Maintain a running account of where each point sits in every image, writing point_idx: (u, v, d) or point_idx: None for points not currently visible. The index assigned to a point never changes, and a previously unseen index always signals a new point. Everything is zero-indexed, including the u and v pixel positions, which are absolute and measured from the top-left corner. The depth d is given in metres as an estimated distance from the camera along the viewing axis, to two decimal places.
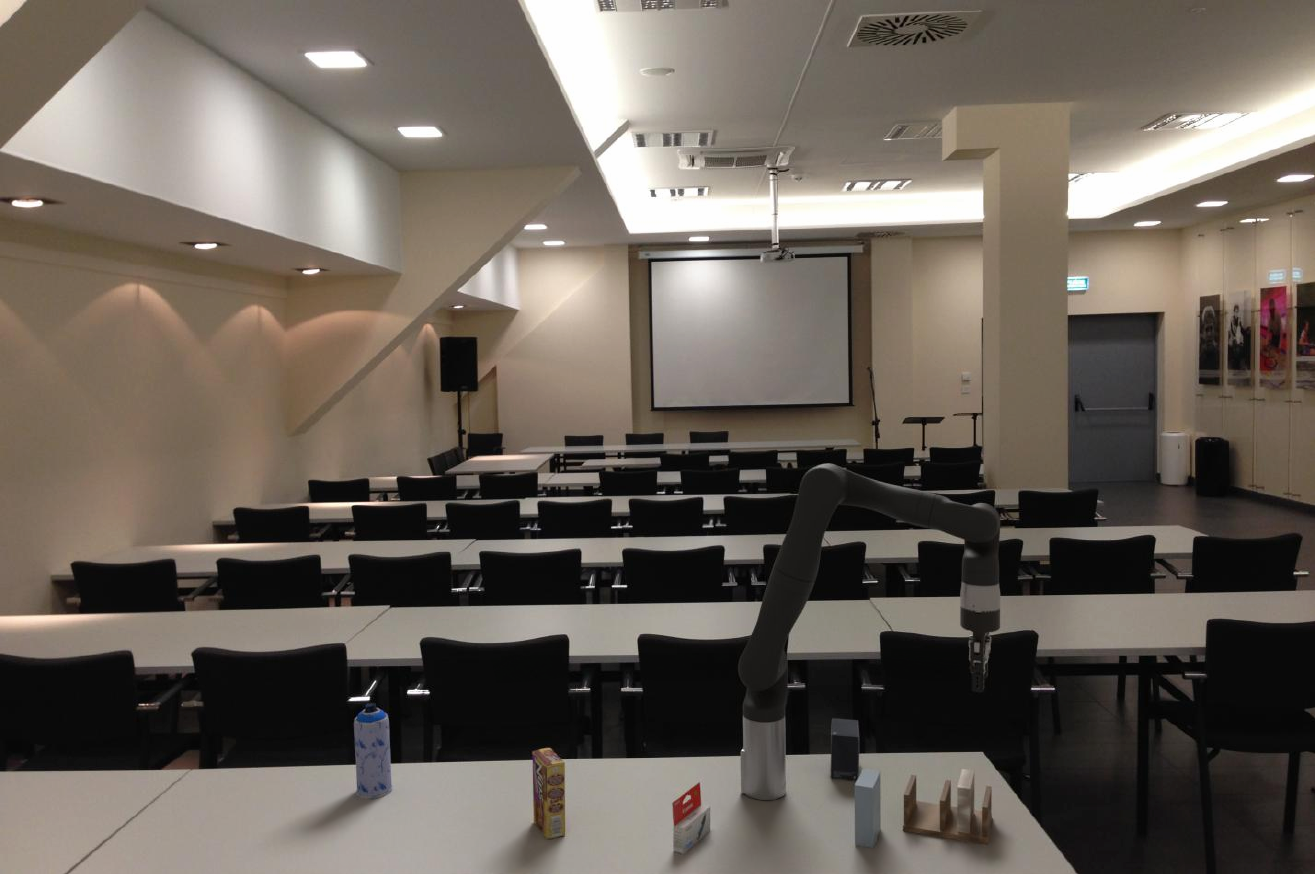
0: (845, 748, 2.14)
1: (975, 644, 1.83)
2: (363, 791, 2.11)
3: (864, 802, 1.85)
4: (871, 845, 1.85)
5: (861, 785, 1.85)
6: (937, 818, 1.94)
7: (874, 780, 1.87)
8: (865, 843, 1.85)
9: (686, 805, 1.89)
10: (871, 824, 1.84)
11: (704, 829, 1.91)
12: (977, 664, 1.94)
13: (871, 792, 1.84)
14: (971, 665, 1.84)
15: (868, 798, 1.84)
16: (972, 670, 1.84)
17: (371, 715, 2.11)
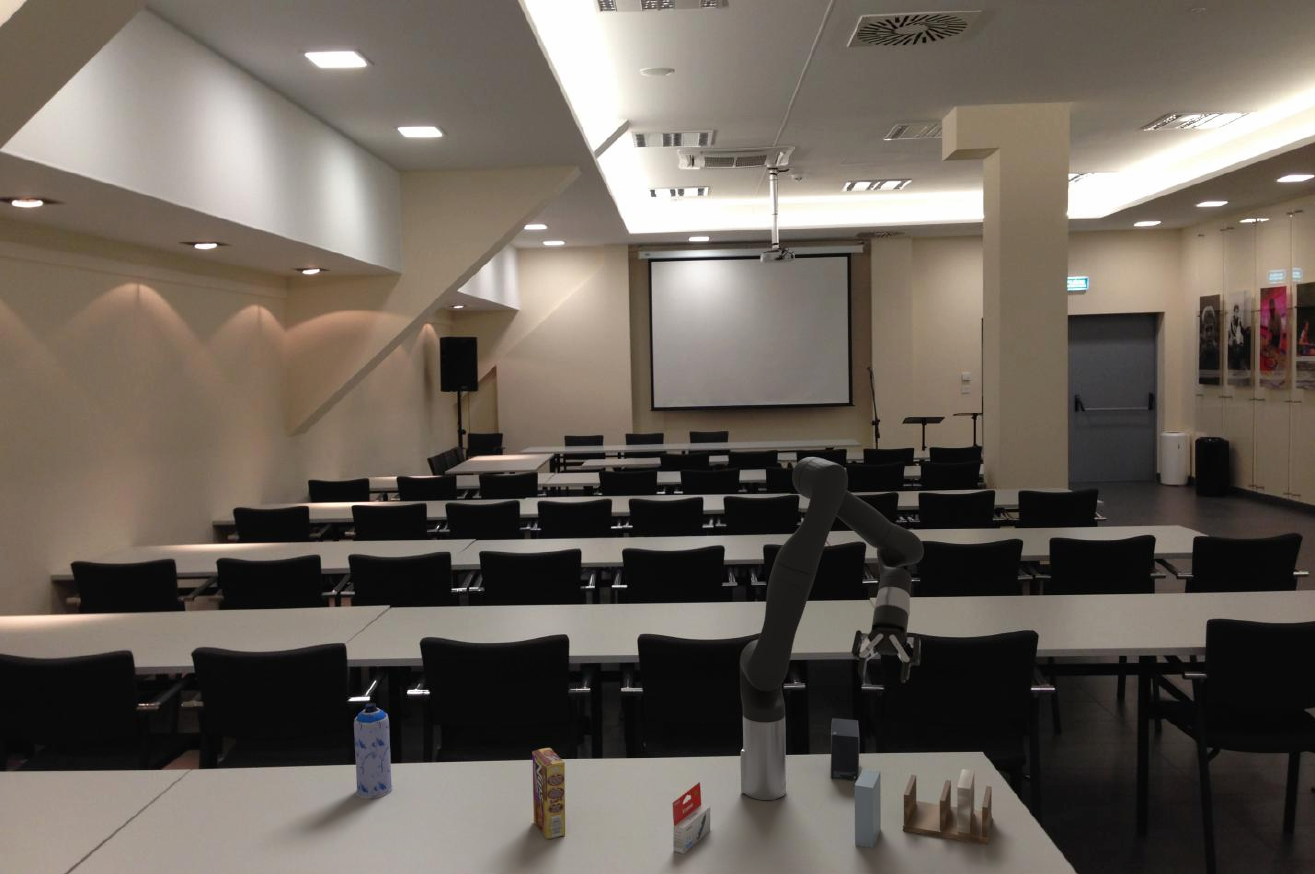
0: (845, 748, 2.14)
1: (919, 639, 2.05)
2: (363, 791, 2.11)
3: (864, 802, 1.85)
4: (871, 845, 1.85)
5: (861, 785, 1.85)
6: (937, 818, 1.94)
7: (874, 780, 1.87)
8: (865, 843, 1.85)
9: (686, 805, 1.89)
10: (871, 824, 1.84)
11: (704, 829, 1.91)
12: (864, 663, 2.05)
13: (871, 792, 1.84)
14: (918, 654, 2.02)
15: (868, 798, 1.84)
16: (918, 659, 2.02)
17: (371, 715, 2.11)
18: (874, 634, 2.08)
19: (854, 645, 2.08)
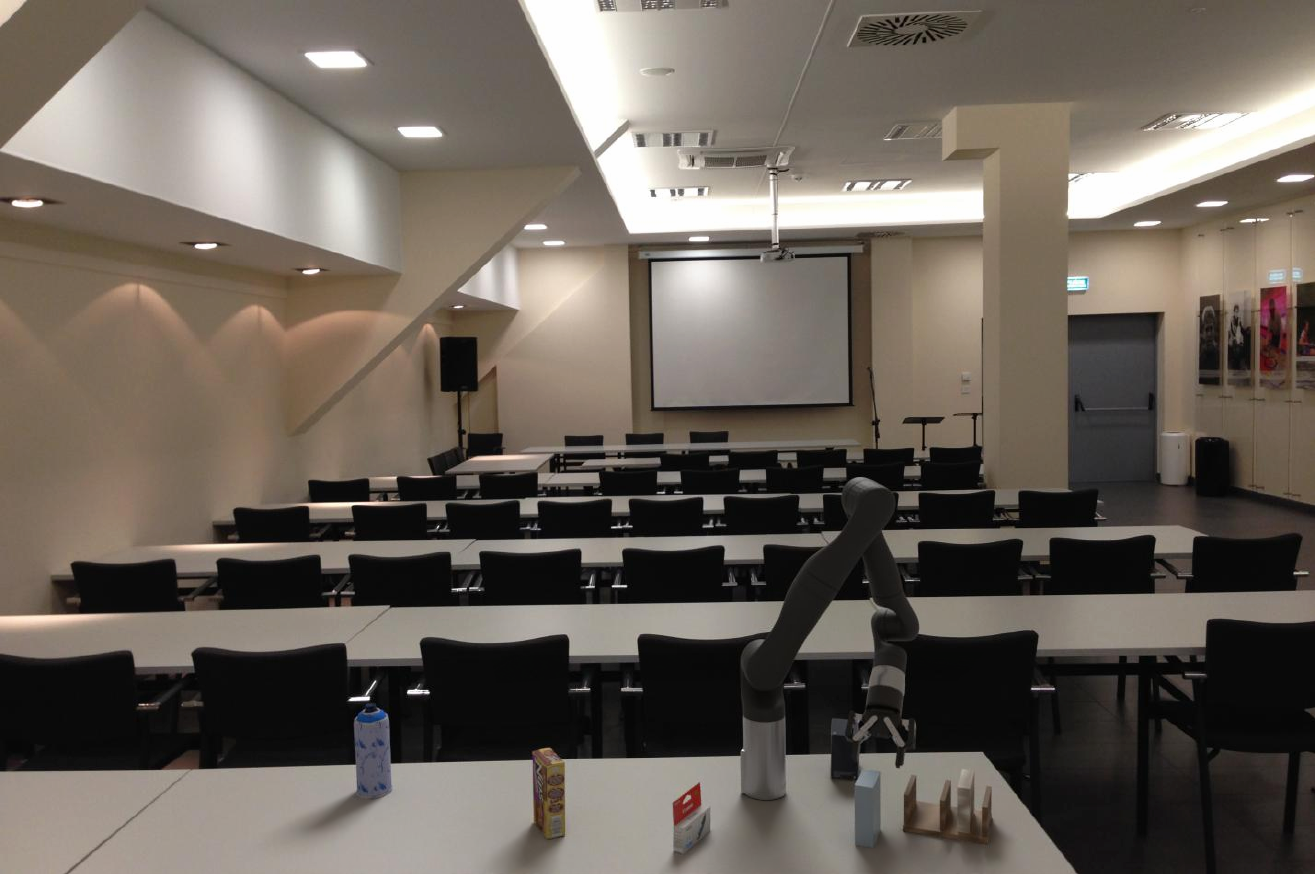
0: (845, 748, 2.14)
1: (914, 721, 2.00)
2: (363, 791, 2.11)
3: (864, 802, 1.85)
4: (871, 845, 1.85)
5: (861, 785, 1.85)
6: (937, 818, 1.94)
7: (874, 780, 1.87)
8: (865, 843, 1.85)
9: (686, 805, 1.89)
10: (871, 824, 1.84)
11: (704, 829, 1.91)
12: (858, 746, 1.99)
13: (871, 792, 1.84)
14: (914, 739, 1.96)
15: (868, 798, 1.84)
16: (913, 744, 1.96)
17: (371, 715, 2.11)
18: (868, 715, 2.03)
19: (847, 727, 2.02)
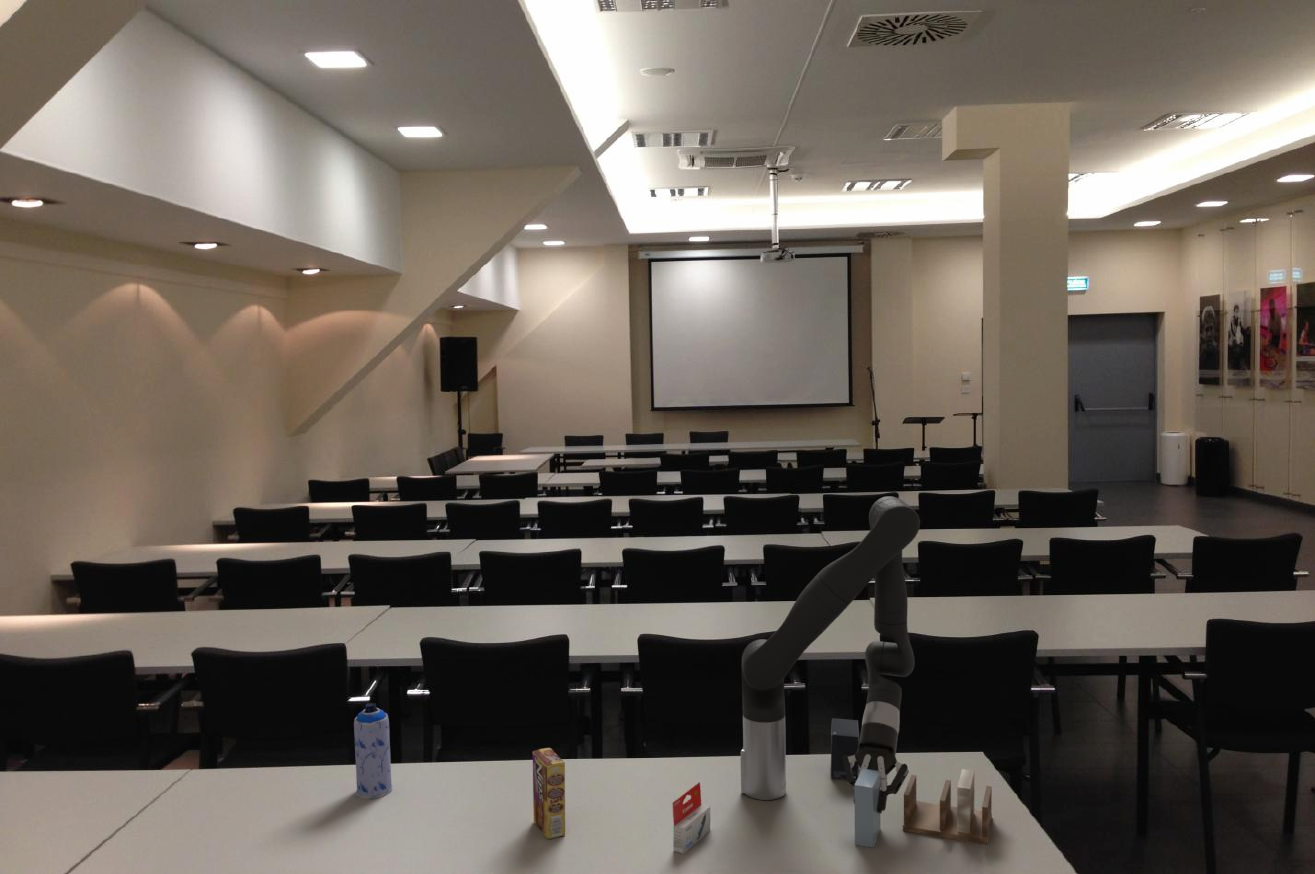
0: (845, 748, 2.14)
1: (907, 768, 1.92)
2: (363, 791, 2.11)
3: (864, 802, 1.85)
4: (871, 845, 1.85)
5: (860, 785, 1.85)
6: (937, 818, 1.94)
7: (874, 780, 1.87)
8: (865, 843, 1.85)
9: (686, 805, 1.89)
10: (871, 823, 1.84)
11: (704, 829, 1.91)
12: None
13: (871, 792, 1.84)
14: (897, 785, 1.90)
15: (867, 798, 1.84)
16: (895, 789, 1.90)
17: (371, 715, 2.11)
18: (861, 753, 1.96)
19: (847, 773, 1.95)
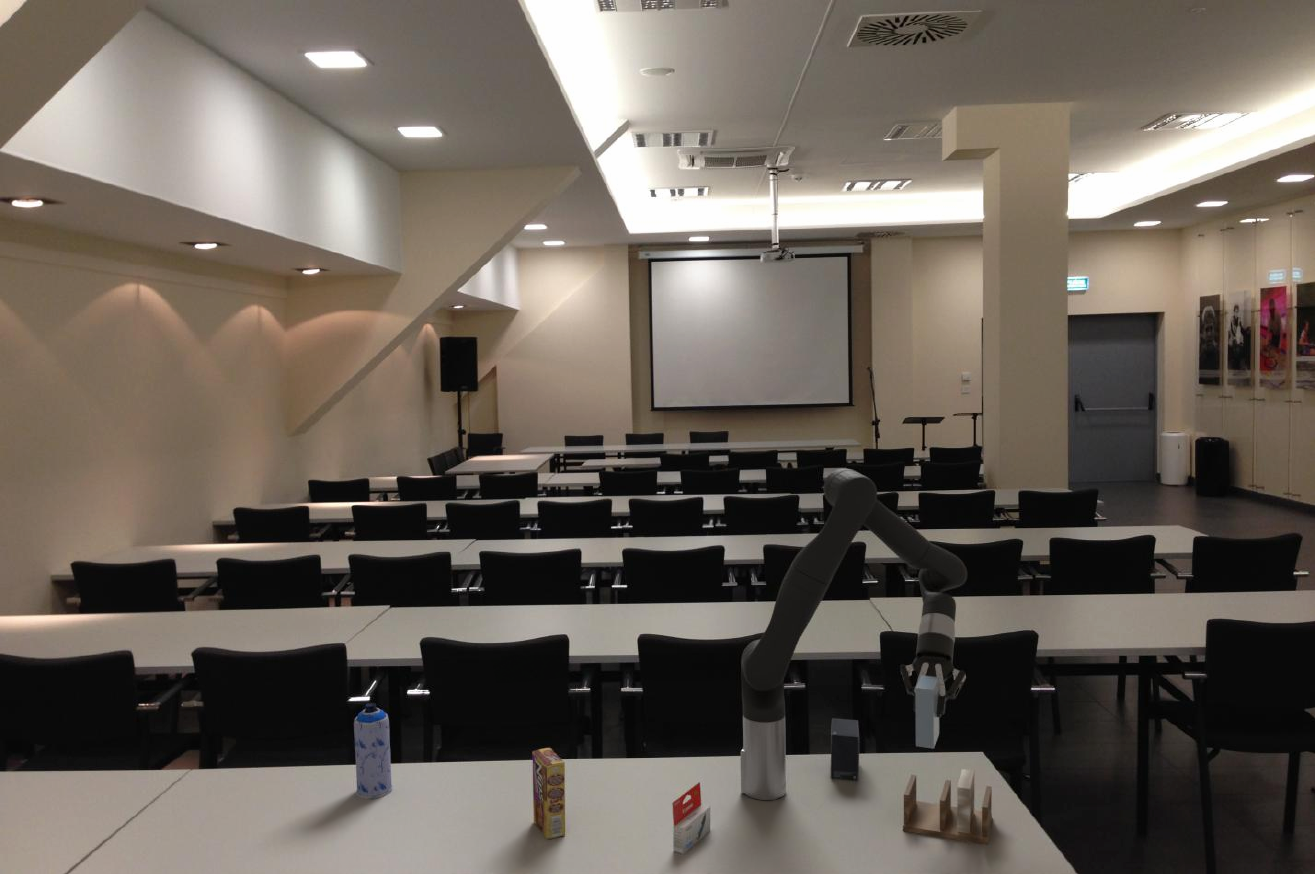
0: (845, 748, 2.14)
1: (965, 675, 1.97)
2: (363, 791, 2.11)
3: (925, 704, 1.90)
4: (932, 746, 1.90)
5: (921, 688, 1.90)
6: (937, 818, 1.94)
7: (934, 684, 1.92)
8: (926, 744, 1.90)
9: (686, 805, 1.89)
10: (932, 725, 1.89)
11: (704, 829, 1.91)
12: None
13: (932, 694, 1.89)
14: (956, 690, 1.95)
15: (928, 700, 1.89)
16: (954, 694, 1.95)
17: (371, 715, 2.11)
18: (918, 662, 2.01)
19: (905, 680, 1.99)
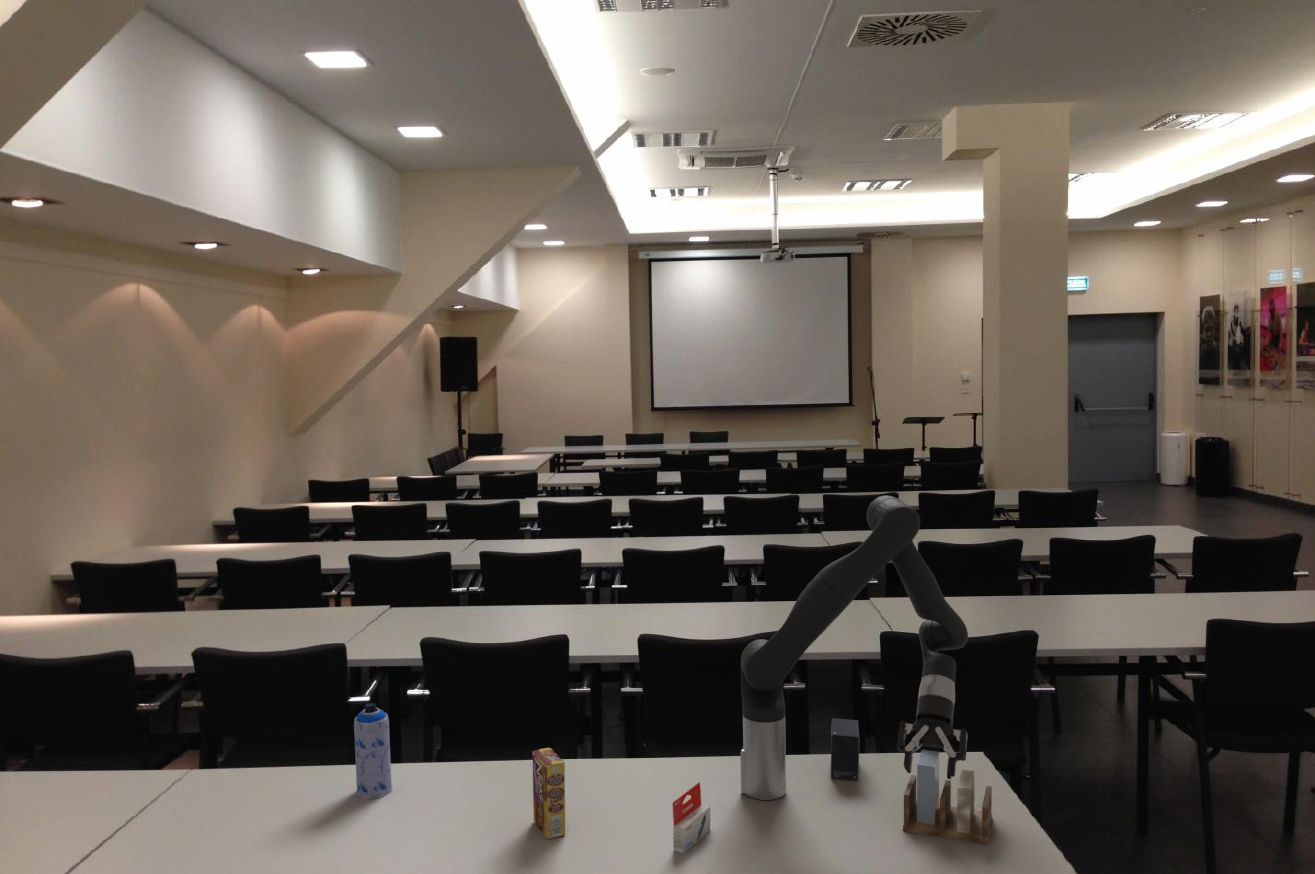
0: (845, 748, 2.14)
1: (966, 732, 1.99)
2: (363, 791, 2.11)
3: (926, 781, 1.91)
4: (933, 822, 1.91)
5: (923, 765, 1.91)
6: (937, 818, 1.94)
7: (935, 760, 1.93)
8: (927, 821, 1.92)
9: (686, 805, 1.89)
10: (934, 802, 1.91)
11: (704, 829, 1.91)
12: (911, 757, 1.99)
13: (933, 771, 1.90)
14: (965, 750, 1.96)
15: (930, 777, 1.91)
16: (964, 754, 1.96)
17: (371, 715, 2.11)
18: (919, 725, 2.02)
19: (899, 737, 2.02)
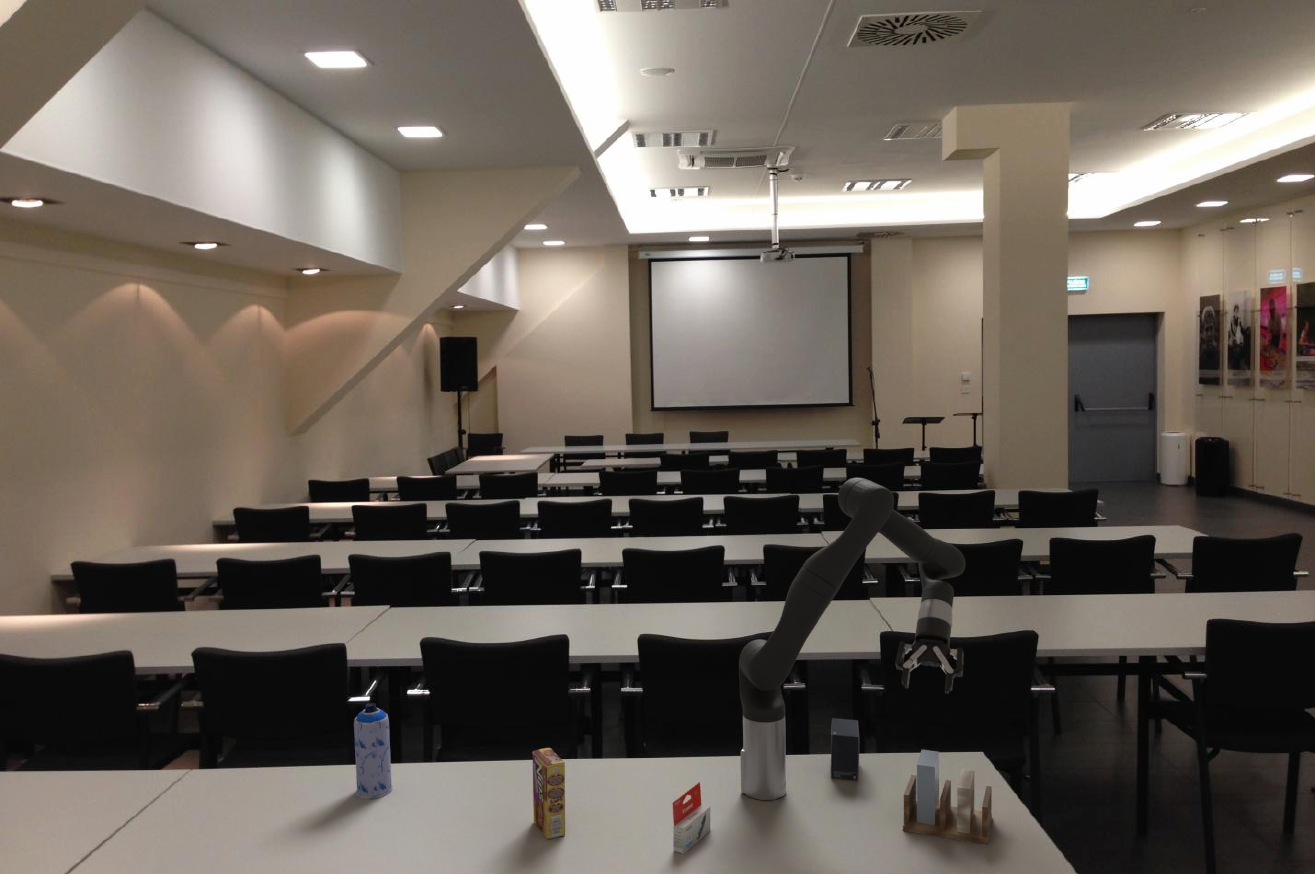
0: (845, 748, 2.14)
1: (962, 651, 2.09)
2: (363, 791, 2.11)
3: (926, 781, 1.91)
4: (933, 822, 1.91)
5: (923, 765, 1.91)
6: (937, 818, 1.94)
7: (935, 760, 1.93)
8: (927, 821, 1.92)
9: (686, 805, 1.89)
10: (934, 802, 1.91)
11: (704, 829, 1.91)
12: (908, 673, 2.09)
13: (933, 771, 1.90)
14: (962, 666, 2.06)
15: (930, 777, 1.91)
16: (961, 671, 2.06)
17: (371, 715, 2.11)
18: (917, 645, 2.12)
19: (898, 655, 2.12)
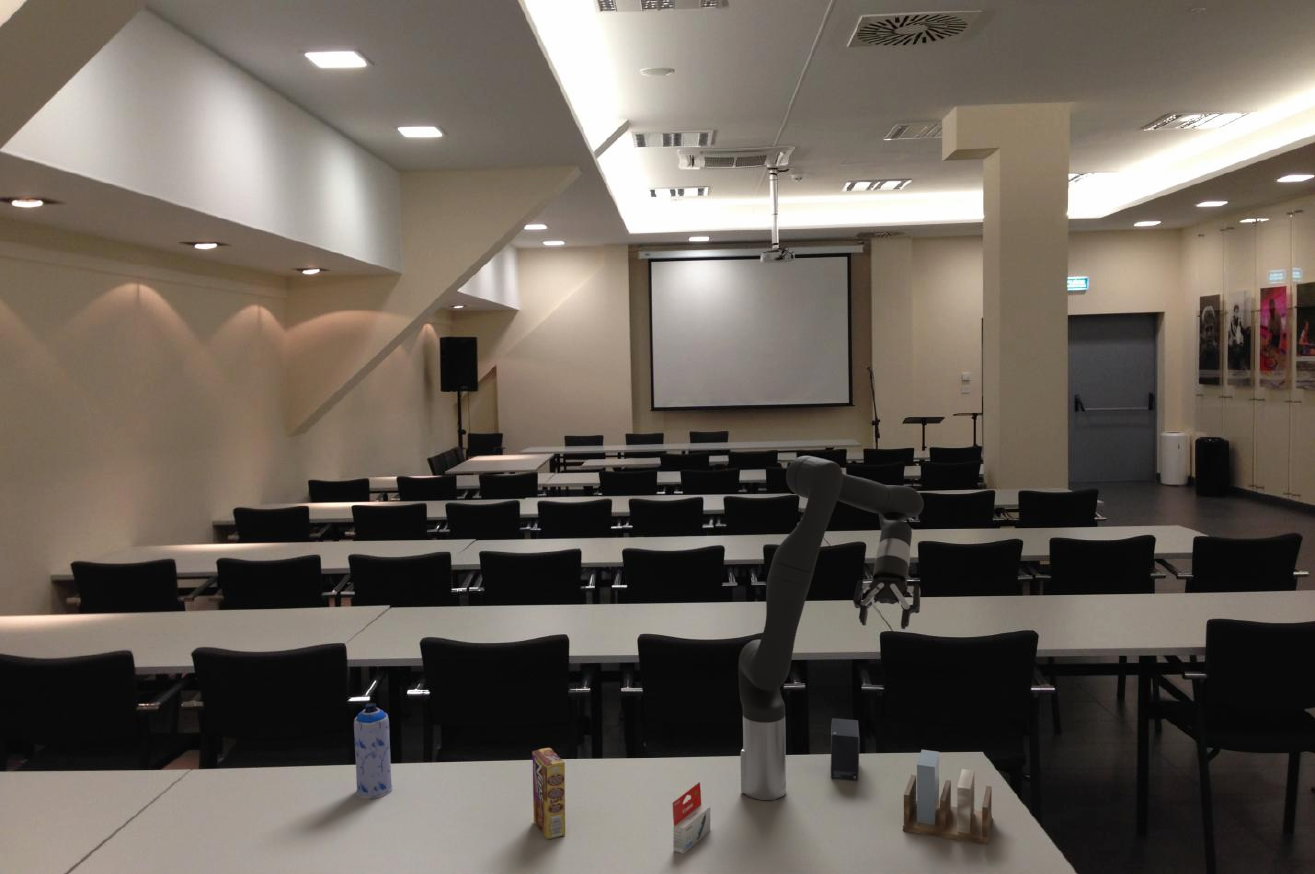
0: (845, 748, 2.14)
1: (919, 587, 2.11)
2: (363, 791, 2.11)
3: (926, 781, 1.91)
4: (933, 822, 1.91)
5: (923, 765, 1.91)
6: (937, 818, 1.94)
7: (935, 760, 1.93)
8: (927, 821, 1.92)
9: (686, 805, 1.89)
10: (934, 802, 1.91)
11: (704, 829, 1.91)
12: (866, 610, 2.10)
13: (933, 771, 1.90)
14: (918, 602, 2.08)
15: (930, 777, 1.91)
16: (918, 606, 2.07)
17: (371, 715, 2.11)
18: (875, 583, 2.14)
19: (855, 594, 2.13)
